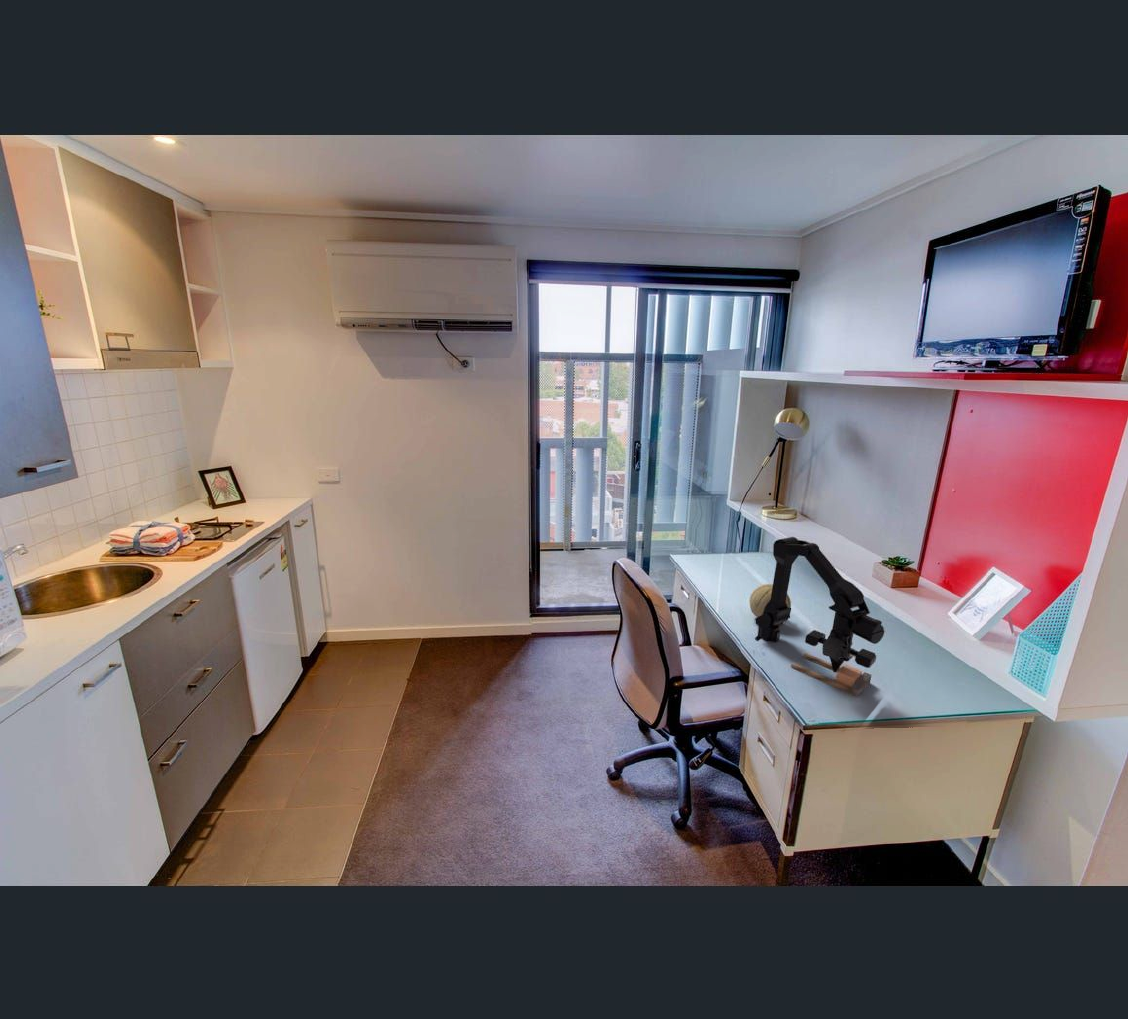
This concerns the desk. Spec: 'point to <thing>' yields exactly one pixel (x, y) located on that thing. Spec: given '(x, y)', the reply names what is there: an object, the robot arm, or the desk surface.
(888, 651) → the desk surface
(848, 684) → the block
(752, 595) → the cantaloupe
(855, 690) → the channel
